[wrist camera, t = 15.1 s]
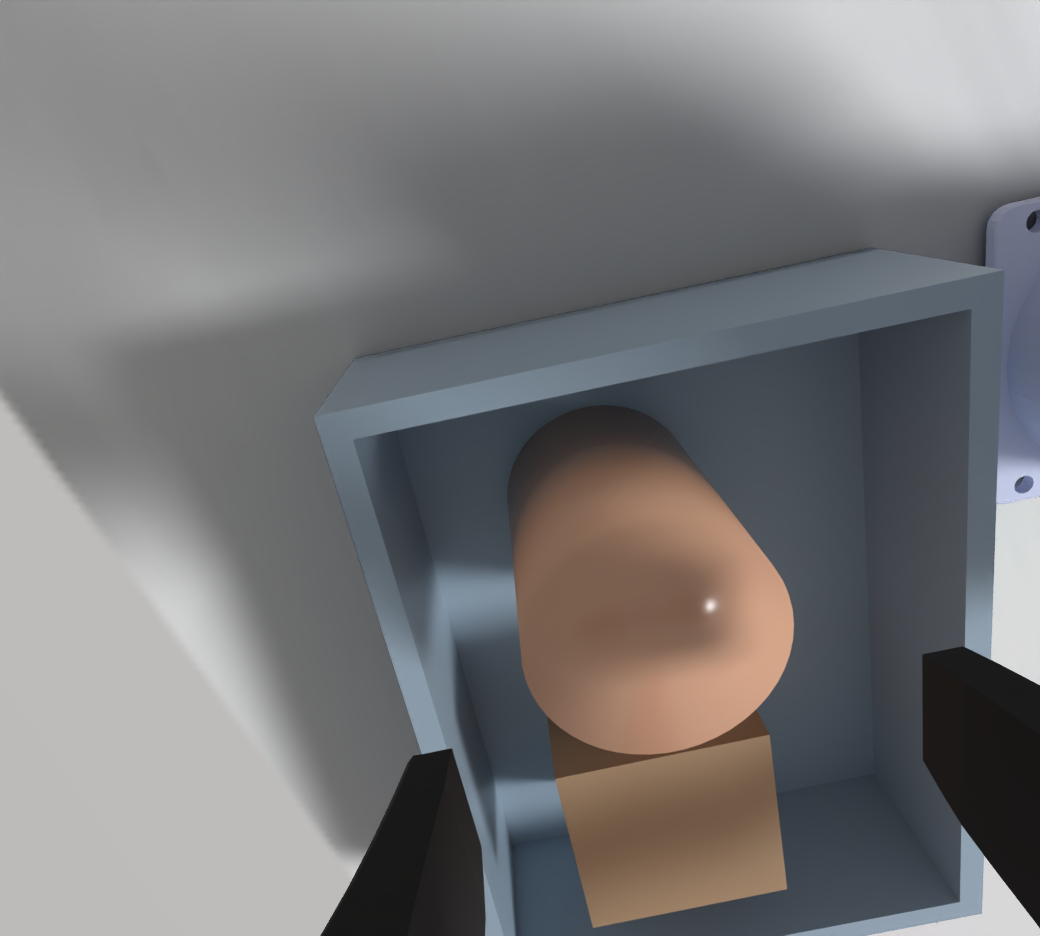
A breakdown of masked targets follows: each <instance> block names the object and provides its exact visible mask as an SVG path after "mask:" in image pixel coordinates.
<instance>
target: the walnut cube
mask: <svg viewBox="0 0 1040 936" xmlns="http://www.w3.org/2000/svg"><path fill="white" fill-rule="evenodd" d="M547 719H548V727H549V735H550V743H551V751H552V759H553V767H554V775H555V781H556V785H557V789H558V793H559V797H560V801H561V804H562V808H563V812H564V816H565V820H566V824H567V828H568V832H569V836H570V840H571V844H572V847H573V851H574V855H575V859H576V863H577V867H578V871H579V875H580V879H581V883H582V887H583V891H584V894H585V898H586V902H587V906H588V910H589V914H590V918H591V922H592V926H593V928H595V927H600V926H605V925H610V924H615V923H620V922H625V921H630V920H635V919H640V918H645V917H650V916H655V915H660V914H665V913H670V912H675V911H680V910H685V909H690V908H695V907H700V906H705V905H710V904H715V903H720V902H726V901H731V900H736V899H741V898H746V897H751V896H756V895H761V894H766V893H771V892H776V891H781V890H786V889H787V883H786V874H785V865H784V856H783V848H782V839H781V830H780V822H779V813H778V804H777V795H776V787H775V778H774V769H773V760H772V752H771V743H770V735H769V733H768V731H767V729H766V727H765V725H764V723H763V721H762V719H761V717H760V715H759V714H758V712H757V710H755V711H754V712H753V713H752V714H750V715H749V716H748V717H747V718H746V719H745V720H743V721H742V722H741V723H739V724H738V725H736V726H735V727H733V728H732V729H731V730H729V731H727V732H725V733H723V734H722V735H720V736H718V737H716V738H714V739H712V740H709V741H707V742H705V743H702V744H700V745H697V746H694V747H690V748H687V749H684V750H679V751H674V752H669V753H661V754H651V755H648V754H626V753H618V752H613V751H609V750H605V749H601V748H598V747H595V746H592V745H590V744H587V743H585V742H583V741H581V740H579V739H577V738H575V737H573V736H571V735H570V734H568V733H567V732H565V731H564V730H562V729H561V728H560V727H559V726H557V725H556V724H555V723H554V722H553V721H552V720H551V719H550V718H549V717H548V716H547Z"/></svg>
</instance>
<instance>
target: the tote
mask: <svg viewBox="0 0 1040 936" xmlns="http://www.w3.org/2000/svg"><path fill="white" fill-rule="evenodd" d="M1003 296H1004V270H1001V269H996V268H990V267H984V266H978V265H972V264H966V263H960V262H954V261H948V260H942V259H936V258H930V257H924V256H918V255H912V254H907V253H901V252H895V251H889V250H883V249H877V248H868V249H863V250H859V251H854V252H849V253H845V254H840V255H835V256H831V257H826V258H821V259H817V260H812V261H807V262H803V263H798V264H793V265H789V266H784V267H779V268H775V269H770V270H765V271H761V272H756V273H751V274H747V275H742V276H738V277H733V278H728V279H724V280H719V281H714V282H710V283H705V284H700V285H696V286H691V287H686V288H682V289H677V290H672V291H668V292H663V293H658V294H654V295H649V296H644V297H640V298H635V299H630V300H626V301H621V302H616V303H612V304H607V305H602V306H598V307H593V308H588V309H584V310H579V311H574V312H570V313H565V314H560V315H556V316H551V317H546V318H542V319H537V320H532V321H528V322H523V323H518V324H514V325H509V326H504V327H500V328H495V329H490V330H486V331H481V332H476V333H472V334H467V335H462V336H458V337H453V338H448V339H444V340H439V341H434V342H430V343H425V344H420V345H416V346H411V347H406V348H402V349H397V350H392V351H388V352H383V353H378V354H374V355H369V356H364V357H360V358H355V359H354V360H353V362H352V363H351V364H350V366H349V367H348V369H347V370H346V371H345V373H344V374H343V376H342V377H341V378H340V380H339V381H338V383H337V384H336V386H335V387H334V388H333V390H332V391H331V393H330V394H329V395H328V397H327V398H326V400H325V401H324V402H323V404H322V405H321V407H320V408H319V410H318V411H317V412H316V414H315V415H314V417H313V418H314V421H315V424H316V427H317V430H318V433H319V437H320V440H321V443H322V446H323V449H324V452H325V455H326V458H327V461H328V465H329V468H330V471H331V474H332V477H333V480H334V483H335V486H336V489H337V493H338V496H339V499H340V502H341V505H342V508H343V511H344V514H345V517H346V521H347V524H348V527H349V530H350V533H351V536H352V539H353V542H354V545H355V549H356V552H357V555H358V558H359V561H360V564H361V567H362V570H363V573H364V576H365V580H366V583H367V586H368V589H369V592H370V595H371V598H372V601H373V604H374V608H375V611H376V614H377V617H378V620H379V623H380V626H381V629H382V632H383V636H384V639H385V642H386V645H387V648H388V651H389V654H390V657H391V660H392V664H393V667H394V670H395V673H396V676H397V679H398V682H399V685H400V688H401V692H402V695H403V698H404V701H405V704H406V707H407V710H408V713H409V716H410V720H411V723H412V726H413V729H414V732H415V735H416V738H417V741H418V744H419V748H420V751H421V754H425V753H430V752H435V751H440V750H445V749H450V748H452V750H453V753H454V757H455V760H456V763H457V767H458V770H459V773H460V777H461V780H462V783H463V787H464V790H465V793H466V797H467V800H468V803H469V806H470V810H471V813H472V816H473V820H474V823H475V826H476V830H477V833H478V836H479V840H480V843H481V846H482V861H483V876H484V893H485V912H486V924H485V936H866V935H871V934H876V933H882V932H887V931H892V930H898V929H903V928H908V927H913V926H919V925H924V924H929V923H934V922H940V921H945V920H950V919H955V918H961V917H966V916H971V915H977V914H982V893H983V864H984V854H983V853H982V852H981V851H980V849H979V848H978V847H977V845H976V844H975V843H974V841H973V840H972V839H971V837H970V836H969V835H968V833H967V832H966V830H965V829H964V828H963V826H962V825H961V823H960V822H959V820H958V819H957V817H956V815H955V814H954V812H953V810H952V809H951V807H950V806H949V804H948V802H947V801H946V799H945V797H944V796H943V794H942V792H941V791H940V789H939V787H938V786H937V784H936V782H935V780H934V779H933V777H932V775H931V773H930V772H929V770H928V768H927V767H926V765H925V763H924V761H923V709H922V654H926V653H931V652H936V651H941V650H946V649H951V648H956V647H961V646H963V647H966V648H968V649H970V650H972V651H974V652H976V653H978V654H980V655H982V656H984V657H986V658H988V659H990V660H991V637H992V609H993V580H994V552H995V523H996V495H997V467H998V438H999V410H1000V381H1001V353H1002V325H1003ZM599 405H610V406H620V407H626V408H630V409H633V410H636V411H639V412H641V413H644V414H646V415H648V416H650V417H652V418H653V419H655V420H656V421H658V422H659V423H661V424H662V425H663V426H664V427H665V428H666V429H668V430H669V431H670V433H671V434H672V435H673V436H674V437H675V438H676V440H677V441H678V442H679V443H680V445H681V446H682V447H683V449H684V450H685V451H686V453H687V454H688V455H689V456H690V458H691V459H692V460H693V462H694V463H695V464H696V466H697V467H698V468H699V470H700V471H701V472H702V473H703V475H704V476H705V477H706V479H707V480H708V481H709V483H710V484H711V485H712V486H713V488H714V489H715V490H716V492H717V493H718V494H719V496H720V497H721V498H722V500H723V501H724V502H725V503H726V505H727V506H728V507H729V509H730V510H731V511H732V513H733V514H734V515H735V517H736V518H737V519H738V520H739V522H740V523H741V524H742V526H743V527H744V528H745V530H746V531H747V532H748V533H749V535H750V536H751V537H752V539H753V540H754V541H755V543H756V544H757V545H758V547H759V548H760V549H761V550H762V552H763V553H764V554H765V556H766V557H767V558H768V560H769V561H770V562H771V563H772V565H773V566H774V567H775V569H776V571H777V572H778V574H779V575H780V577H781V578H782V580H783V582H784V584H785V587H786V589H787V591H788V594H789V597H790V601H791V605H792V609H793V619H794V632H793V642H792V647H791V651H790V656H789V658H788V661H787V664H786V666H785V669H784V671H783V673H782V675H781V677H780V679H779V681H778V682H777V684H776V686H775V687H774V688H773V690H772V691H771V693H770V694H769V696H768V697H767V698H766V699H765V700H764V701H763V702H762V704H761V705H760V706H759V707H758V708H757V709H756V710H757V712H758V714H759V715H760V717H761V719H762V721H763V723H764V725H765V727H766V729H767V731H768V733H769V735H770V743H771V752H772V760H773V769H774V778H775V787H776V795H777V804H778V813H779V822H780V830H781V839H782V848H783V856H784V865H785V874H786V883H787V889H786V890H781V891H776V892H771V893H766V894H761V895H756V896H751V897H746V898H741V899H736V900H731V901H726V902H720V903H715V904H710V905H705V906H700V907H695V908H690V909H685V910H680V911H675V912H670V913H665V914H660V915H655V916H650V917H645V918H640V919H635V920H630V921H625V922H620V923H615V924H610V925H605V926H600V927H595V928H593V926H592V922H591V918H590V914H589V910H588V906H587V902H586V898H585V894H584V891H583V887H582V883H581V879H580V875H579V871H578V867H577V863H576V859H575V855H574V851H573V847H572V844H571V840H570V836H569V832H568V828H567V824H566V820H565V816H564V812H563V808H562V804H561V801H560V797H559V793H558V789H557V785H556V781H555V775H554V767H553V759H552V751H551V743H550V735H549V727H548V719H547V715H546V714H545V713H544V712H543V710H542V709H541V708H540V707H539V705H538V704H537V702H536V700H535V699H534V697H533V696H532V694H531V692H530V689H529V687H528V685H527V682H526V680H525V676H524V672H523V668H522V660H521V648H520V637H519V626H518V615H517V603H516V592H515V581H514V569H513V558H512V547H511V536H510V524H509V513H508V502H507V490H508V482H509V477H510V473H511V470H512V467H513V464H514V462H515V460H516V458H517V456H518V454H519V452H520V451H521V450H522V448H523V447H524V445H525V444H526V442H527V441H528V440H529V439H530V438H531V437H532V436H533V435H534V434H535V433H536V432H537V431H538V430H539V429H540V428H542V427H543V426H544V425H546V424H547V423H549V422H550V421H552V420H553V419H555V418H557V417H559V416H561V415H563V414H565V413H567V412H570V411H573V410H576V409H580V408H584V407H589V406H599Z"/></svg>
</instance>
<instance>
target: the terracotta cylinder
mask: <svg viewBox="0 0 1040 936" xmlns="http://www.w3.org/2000/svg"><path fill="white" fill-rule="evenodd" d="M507 502H508V513H509V524H510V536H511V547H512V558H513V569H514V581H515V592H516V603H517V615H518V626H519V637H520V648H521V660H522V668H523V672H524V676H525V680H526V682H527V685H528V687H529V689H530V692H531V694H532V696H533V697H534V699H535V700H536V702H537V704H538V705H539V707H540V708H541V709H542V710H543V712H544V713H545V714H546V715H547V716H548V717H549V718H550V719H551V720H552V721H553V722H554V723H555V724H556V725H557V726H559V727H560V728H561V729H562V730H564V731H565V732H567V733H568V734H570V735H571V736H573V737H575V738H577V739H579V740H581V741H583V742H585V743H587V744H590V745H592V746H595V747H598V748H601V749H605V750H609V751H613V752H618V753H626V754H648V755H651V754H661V753H669V752H674V751H679V750H684V749H687V748H690V747H694V746H697V745H700V744H702V743H705V742H707V741H709V740H712V739H714V738H716V737H718V736H720V735H722V734H723V733H725V732H727V731H729V730H731V729H732V728H733V727H735V726H736V725H738V724H739V723H741V722H742V721H743V720H745V719H746V718H747V717H748V716H749V715H750V714H752V713H753V712H754V711H755V710H756V709H757V708H758V707H759V706H760V705H761V704H762V702H763V701H764V700H765V699H766V698H767V697H768V696H769V694H770V693H771V691H772V690H773V688H774V687H775V686H776V684H777V682H778V681H779V679H780V677H781V675H782V673H783V671H784V669H785V666H786V664H787V661H788V658H789V656H790V651H791V647H792V642H793V632H794V619H793V609H792V605H791V601H790V597H789V594H788V591H787V589H786V587H785V584H784V582H783V580H782V578H781V577H780V575H779V574H778V572H777V571H776V569H775V567H774V566H773V565H772V563H771V562H770V561H769V560H768V558H767V557H766V556H765V554H764V553H763V552H762V550H761V549H760V548H759V547H758V545H757V544H756V543H755V541H754V540H753V539H752V537H751V536H750V535H749V533H748V532H747V531H746V530H745V528H744V527H743V526H742V524H741V523H740V522H739V520H738V519H737V518H736V517H735V515H734V514H733V513H732V511H731V510H730V509H729V507H728V506H727V505H726V503H725V502H724V501H723V500H722V498H721V497H720V496H719V494H718V493H717V492H716V490H715V489H714V488H713V486H712V485H711V484H710V483H709V481H708V480H707V479H706V477H705V476H704V475H703V473H702V472H701V471H700V470H699V468H698V467H697V466H696V464H695V463H694V462H693V460H692V459H691V458H690V456H689V455H688V454H687V453H686V451H685V450H684V449H683V447H682V446H681V445H680V443H679V442H678V441H677V440H676V438H675V437H674V436H673V435H672V434H671V433H670V431H669V430H668V429H666V428H665V427H664V426H663V425H662V424H661V423H659V422H658V421H656V420H655V419H653V418H652V417H650V416H648V415H646V414H644V413H641V412H639V411H636V410H633V409H630V408H626V407H620V406H610V405H599V406H589V407H584V408H580V409H576V410H573V411H570V412H567V413H565V414H563V415H561V416H559V417H557V418H555V419H553V420H552V421H550V422H549V423H547V424H546V425H544V426H543V427H542V428H540V429H539V430H538V431H537V432H536V433H535V434H534V435H533V436H532V437H531V438H530V439H529V440H528V441H527V442H526V444H525V445H524V447H523V448H522V450H521V451H520V452H519V454H518V456H517V458H516V460H515V462H514V464H513V467H512V470H511V473H510V477H509V482H508V490H507Z"/></svg>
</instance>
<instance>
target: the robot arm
mask: <svg viewBox="0 0 1040 936" xmlns="http://www.w3.org/2000/svg"><path fill="white" fill-rule="evenodd" d="M1032 212H1035V213H1036V217H1037V219H1036V223H1035V225H1034V226H1033V227H1032V228H1031V229H1030V230H1028V229H1027V226H1026V222H1027V219H1028V217H1029V215H1030V214H1031V213H1032ZM986 267H990V268H996V269H1001V270H1004V296H1003V325H1002V353H1001V381H1000V410H999V438H998V467H997V495H996V504H1006V503H1011V502H1016V501H1021V500H1026V499H1031V498H1036V497H1040V197H1036V198H1031V199H1027V200H1022V201H1017V202H1013V203H1008V204H1005V205H1003V206H1001V207H999V208H998V209H997V210H996V211H995V212H993V214H992V215H991V217H990V219H989V220H988V224H987V229H986ZM1023 476H1024V479H1023V482H1022V483H1021V484H1020V485H1019V486H1017V487H1014V486H1015V483H1016V481H1017V480H1018V479H1019V478H1020V477H1023ZM922 709H923V761H924V763H925V765H926V767H927V768H928V770H929V772H930V773H931V775H932V777H933V779H934V780H935V782H936V784H937V786H938V787H939V789H940V791H941V792H942V794H943V796H944V797H945V799H946V801H947V802H948V804H949V806H950V807H951V809H952V810H953V812H954V814H955V815H956V817H957V819H958V820H959V822H960V823H961V825H962V826H963V828H964V829H965V830H966V832H967V833H968V835H969V836H970V837H971V839H972V840H973V841H974V843H975V844H976V845H977V847H978V848H979V849H980V851H981V852H982V853H983V854H984V856H985V857H986V858H987V860H988V861H989V862H990V864H991V865H992V866H993V868H994V869H995V870H996V872H997V873H998V874H999V876H1000V877H1001V878H1002V879H1003V881H1004V882H1005V883H1006V885H1007V886H1008V887H1009V889H1010V890H1011V891H1012V892H1013V894H1014V895H1015V896H1016V898H1017V899H1018V900H1019V902H1020V903H1021V904H1022V905H1023V907H1024V908H1025V909H1026V911H1027V912H1028V913H1029V915H1030V916H1031V917H1032V918H1033V920H1034V921H1035V922H1036V924H1037V925H1038V926H1039V928H1040V685H1038V684H1036V683H1034V682H1032V681H1030V680H1028V679H1027V678H1025V677H1023V676H1021V675H1019V674H1017V673H1015V672H1013V671H1011V670H1009V669H1007V668H1006V667H1004V666H1002V665H1000V664H998V663H996V662H994V661H992V660H990V659H988V658H986V657H984V656H982V655H980V654H978V653H976V652H974V651H972V650H970V649H968V648H966V647H963V646H961V647H956V648H951V649H946V650H941V651H936V652H931V653H926V654H922ZM485 924H486V912H485V893H484V876H483V861H482V846H481V843H480V840H479V836H478V833H477V830H476V826H475V823H474V820H473V816H472V813H471V810H470V806H469V803H468V800H467V797H466V793H465V790H464V787H463V783H462V780H461V777H460V773H459V770H458V767H457V763H456V760H455V757H454V753H453V750H452V748H450V749H445V750H440V751H435V752H430V753H425V754H420V755H415V756H413V757H412V758H411V759H410V761H409V762H408V764H407V766H406V768H405V771H404V773H403V775H402V778H401V780H400V782H399V784H398V787H397V789H396V791H395V793H394V796H393V798H392V800H391V802H390V804H389V807H388V809H387V811H386V813H385V815H384V817H383V819H382V821H381V824H380V826H379V828H378V830H377V832H376V834H375V836H374V838H373V840H372V842H371V844H370V846H369V848H368V850H367V852H366V854H365V856H364V858H363V860H362V862H361V864H360V865H359V867H358V869H357V871H356V873H355V875H354V877H353V879H352V881H351V883H350V885H349V887H348V889H347V890H346V892H345V894H344V896H343V897H342V899H341V901H340V903H339V904H338V906H337V908H336V910H335V911H334V913H333V915H332V917H331V918H330V920H329V922H328V924H327V925H326V927H325V929H324V931H323V932H322V934H321V936H485Z"/></svg>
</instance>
